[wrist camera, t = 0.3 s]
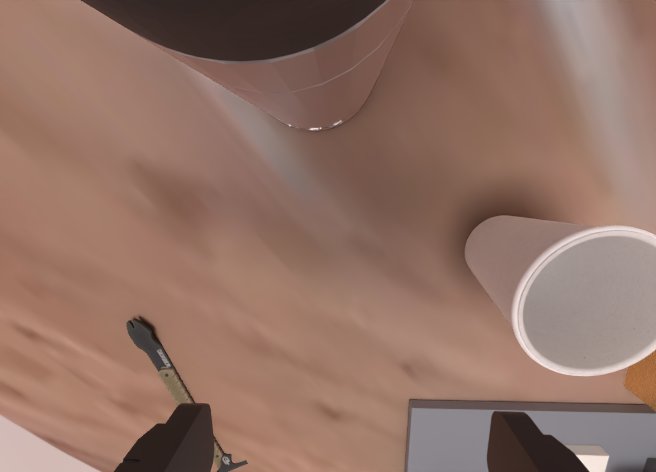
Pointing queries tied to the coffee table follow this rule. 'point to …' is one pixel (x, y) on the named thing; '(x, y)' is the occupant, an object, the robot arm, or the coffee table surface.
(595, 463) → the lever control panel
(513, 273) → the dixie cup
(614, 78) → the coffee table surface
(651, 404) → the yellow plus-sign block
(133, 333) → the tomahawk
